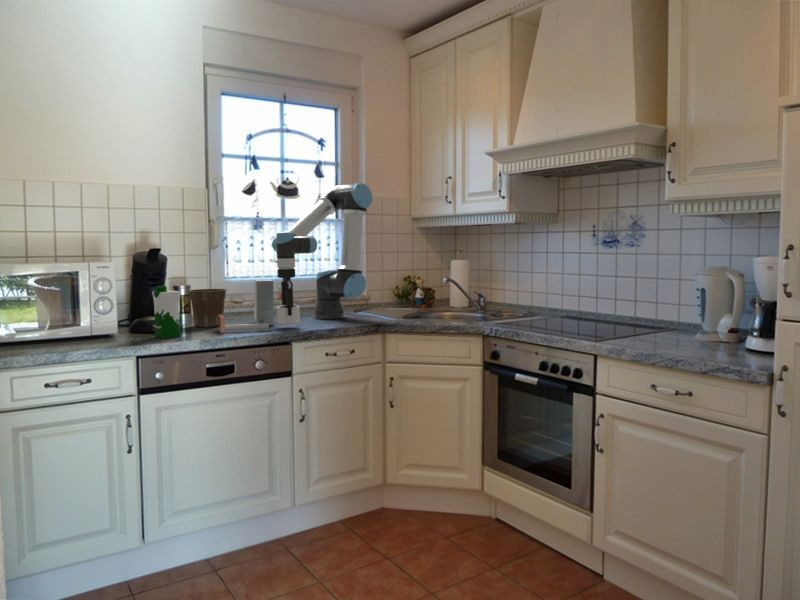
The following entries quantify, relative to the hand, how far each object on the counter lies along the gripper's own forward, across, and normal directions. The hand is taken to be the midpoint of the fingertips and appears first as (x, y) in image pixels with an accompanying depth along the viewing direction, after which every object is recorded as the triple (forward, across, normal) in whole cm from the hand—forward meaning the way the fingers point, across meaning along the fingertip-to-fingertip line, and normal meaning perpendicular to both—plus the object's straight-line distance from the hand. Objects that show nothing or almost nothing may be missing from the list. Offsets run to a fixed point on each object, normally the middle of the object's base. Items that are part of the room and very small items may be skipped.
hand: (288, 321), depth 263 cm
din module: (0, 0, 0) cm, 0 cm away
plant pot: (+2, -20, -32) cm, 37 cm away
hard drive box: (+3, -19, -8) cm, 20 cm away
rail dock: (+2, 0, -18) cm, 19 cm away
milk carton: (+2, +7, -48) cm, 49 cm away
